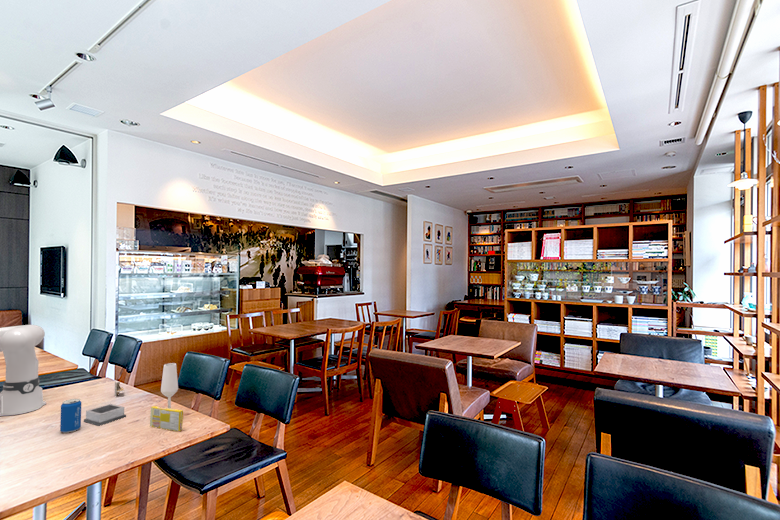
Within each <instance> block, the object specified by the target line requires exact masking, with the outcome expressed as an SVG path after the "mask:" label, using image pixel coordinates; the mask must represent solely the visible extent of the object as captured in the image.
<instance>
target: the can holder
mask: <svg viewBox="0 0 780 520" xmlns="http://www.w3.org/2000/svg"><path fill="white" fill-rule="evenodd" d="M124 417H125V418H126V417H127V414H125V406H121V405H117V404H113V403H108V404H105V405H102V406H98V407H94V408H92V409H88V410H85V418H84V419H83V422H84V423H87V424H91V425H94V426H97V427H100V425H101V426H103V424H104V425H106V423H107V424H109V422H110V423H113V422H116V421H119V420H121V418H122V419H124ZM118 419H119V420H118ZM115 420H116V421H115ZM112 421H113V422H112Z"/></svg>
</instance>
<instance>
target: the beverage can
mask: <svg viewBox="0 0 780 520" xmlns="http://www.w3.org/2000/svg"><path fill="white" fill-rule="evenodd" d="M59 422H60V425H59V427H60V430H59V431H60V432H61V433H63V434H70V433H69V432H71V433H74V432H76V430H77V431H78V430H79V429H81V426H82V401H81V399H80V398H70V399H66V400H64V401H62V404H61V405H60V421H59ZM73 431H74V432H73Z"/></svg>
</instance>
